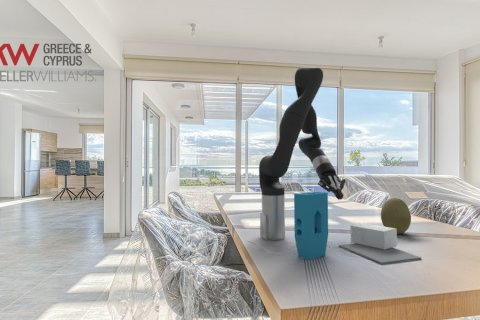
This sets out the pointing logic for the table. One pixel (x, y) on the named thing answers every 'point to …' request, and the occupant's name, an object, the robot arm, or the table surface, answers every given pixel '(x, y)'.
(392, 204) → the fruit
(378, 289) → the table surface
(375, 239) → the small box
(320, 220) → the block
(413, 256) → the mat
